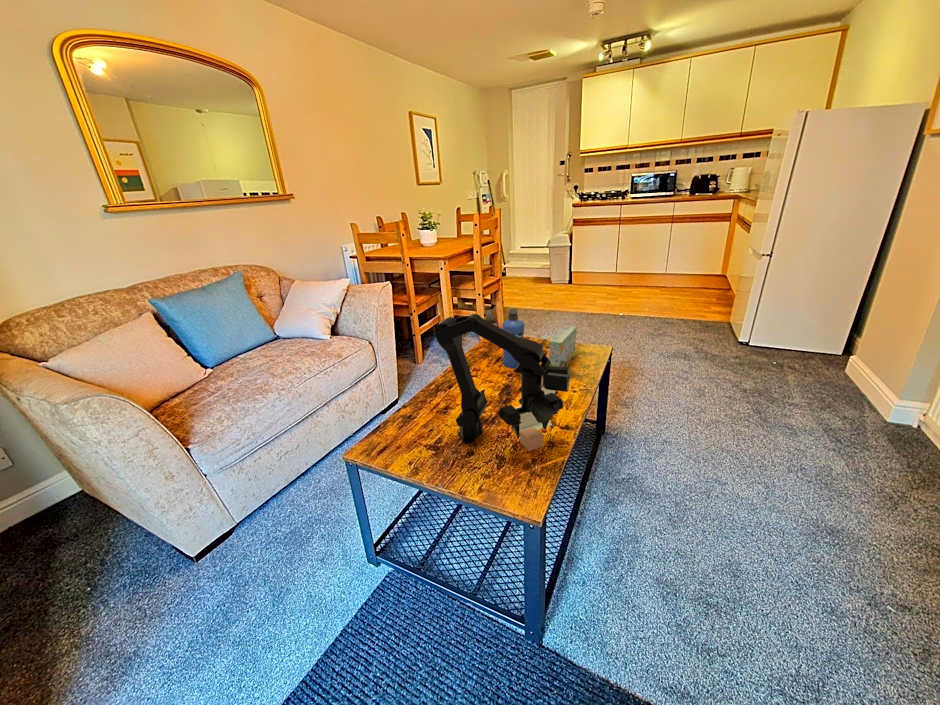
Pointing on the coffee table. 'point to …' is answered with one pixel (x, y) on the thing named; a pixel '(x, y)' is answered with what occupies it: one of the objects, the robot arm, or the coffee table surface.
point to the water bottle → (515, 329)
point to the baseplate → (537, 426)
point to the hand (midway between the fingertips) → (531, 432)
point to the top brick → (531, 439)
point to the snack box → (562, 347)
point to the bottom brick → (527, 420)
